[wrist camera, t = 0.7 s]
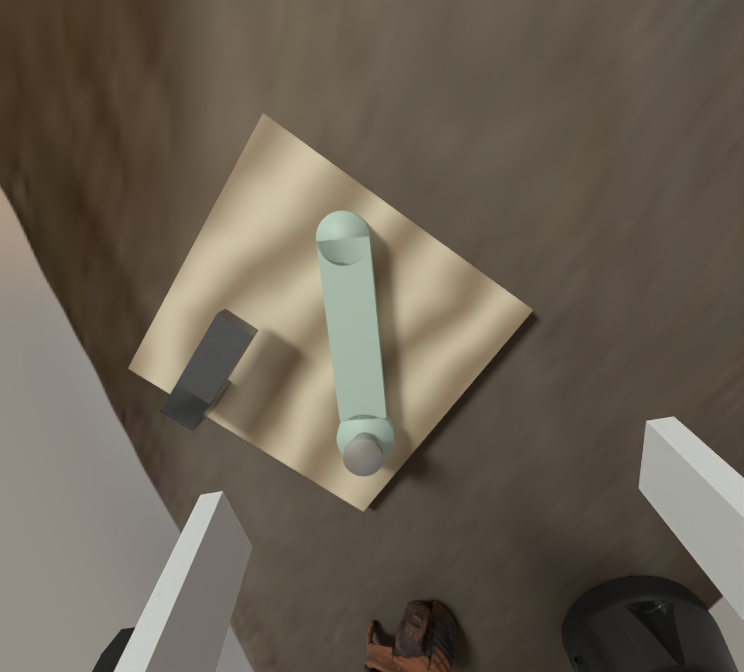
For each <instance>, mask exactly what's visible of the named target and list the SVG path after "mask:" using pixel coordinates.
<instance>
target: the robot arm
mask: <svg viewBox="0 0 744 672" xmlns="http://www.w3.org/2000/svg"><path fill="white" fill-rule="evenodd" d="M639 489H640V491H641V492H642V493H643V494H644V496H645V497H646V498H647V499H648V501H649V502H650V503H651V505H652V506H653V507H654V508H655V510H656V511H657V512H658V513H659V515H660V516H661V517H662V518H663V520H664V521H665V522H666V524H667V525H668V526H669V527H670V529H671V530H672V531H673V532H674V534H675V535H676V536H677V537H678V539H679V540H680V541H681V543H682V544H683V545H684V546H685V548H686V549H687V550H688V551H689V553H690V554H691V555H692V557H693V558H694V559H695V560H696V562H697V563H698V564H699V565H700V567H701V568H702V569H703V570H704V572H705V573H706V574H707V576H708V577H709V578H710V579H711V581H712V582H713V583H714V584H715V586H716V587H717V588H718V589H719V591H720V592H721V593H722V595H723V596H724V597H725V598H726V600H727V601H728V602H729V603H730V605H731V606H732V607H733V609H734V610H735V611H736V612H737V614H738V615H739V616H740V617H741V619H742V620H743V621H744V478H743V477H742V476H741V475H739V474H738V473H737V472H736V471H735V470H734V469H733V468H731V467H730V466H729V465H728V464H727V463H726V462H725V461H724V460H722V459H721V458H720V457H719V456H718V455H717V454H716V453H715V452H713V451H712V450H711V449H710V448H709V447H708V446H707V445H705V444H704V443H703V442H702V441H701V440H700V439H699V438H698V437H696V436H695V435H694V434H693V433H692V432H691V431H690V430H689V429H687V428H686V427H685V426H684V425H683V424H682V423H681V422H679V421H678V420H677V419H676V418H675V417H668V418H662V419H656V420H650V421H646V429H645V438H644V446H643V455H642V464H641V472H640V481H639ZM251 549H252V545H251V543H250V541H249V540H248V538H247V536H246V534H245V532H244V530H243V528H242V526H241V525H240V523H239V521H238V519H237V517H236V515H235V513H234V511H233V510H232V508H231V506H230V504H229V502H228V500H227V498H226V496H225V494H224V493H223V491H222V492H216V493H210V494H203V495H200V497H199V499H198V501H197V503H196V505H195V507H194V509H193V511H192V513H191V515H190V517H189V520H188V522H187V524H186V526H185V528H184V530H183V532H182V534H181V536H180V538H179V540H178V542H177V544H176V546H175V548H174V550H173V552H172V554H171V556H170V558H169V560H168V562H167V564H166V567H165V569H164V571H163V573H162V575H161V577H160V579H159V581H158V583H157V585H156V587H155V589H154V591H153V593H152V595H151V597H150V599H149V601H148V603H147V605H146V607H145V610H144V611H143V613H142V615H141V617H140V619H139V621H138V623H137V626H136V627H135V628H127V629H121V631H120V632H119V633H118V635H117V636H116V637H115V638H114V639H113V641H112V642H111V643H110V644H109V645H108V647H107V648H106V649H105V650H104V652H103V653H102V654H101V656H100V658H99V660H98V662H97V664H96V665H95V667H94V669H93V671H92V672H215V670H216V667H217V663H218V660H219V657H220V653H221V650H222V647H223V643H224V640H225V636H226V633H227V630H228V626H229V623H230V620H231V616H232V613H233V610H234V606H235V603H236V599H237V596H238V593H239V589H240V586H241V583H242V579H243V576H244V573H245V569H246V566H247V562H248V559H249V556H250V552H251ZM562 641H563V645H564V647H565V650H566V652H567V655H568V657H569V660H570V662H571V664H572V667H573V669H574V670H575V672H738V670H737V668H736V666H735V663H734V661H733V659H732V657H731V654H730V652H729V649H728V647H727V645H726V643H725V640H724V638H723V636H722V633H721V631H720V629H719V627H718V625H717V623H716V621H715V620H714V618H713V617H712V615H711V614H710V613H709V612H708V611H707V609H706V608H705V607H704V606H703V604H702V603H701V602H700V601H699V599H698V598H697V597H696V596H695V595H694V594H693V593H692V592H691V591H690V590H688V589H687V588H685V587H684V586H682V585H680V584H678V583H676V582H673V581H670V580H667V579H663V578H658V577H650V576H634V577H626V578H621V579H616V580H613V581H610V582H607V583H604V584H602V585H599V586H597V587H595V588H594V589H592V590H590V591H589V592H587V593H586V594H584V595H583V596H582V597H581V598H579V599H578V600H577V601H576V602H575V603H574V605H573V606H572V607H571V608H570V610H569V611H568V613H567V615H566V617H565V619H564V622H563V626H562Z"/></svg>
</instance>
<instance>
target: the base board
mask: <svg viewBox="0 0 744 672" xmlns="http://www.w3.org/2000/svg"><path fill="white" fill-rule="evenodd" d="M336 211H348V212H352V213H355V214H357V215H359V216H360V217H361V218H362V219H363V220H364V221H365V222H366V223H367V225H368V227H369V230H370V234H371V244H372V255H373V266H374V276H375V287H376V298H377V308H378V319H379V330H380V340H381V351H382V362H383V373H384V383H385V394H386V405H387V413H388V414H389V415H390V417H391V418H392V420H393V423H394V446H393V449H392V451H391V453H390V455H389V456H388V457H387V458H386V459H384V460H383V451H382V448H381V447H380V445H379V444H378V443H377V441H376V439H375V437H374V436H373V435H372V434H370V433H366V432H363V433H359V434H358V435H356V436H355V438H354V439H353V440H352V441H350V442H349V443H348V444H347V445H346V447H345V450H344V454H342V453H341V452H340V450H339V448H338V445H337V433H338V429H339V425H340V419H339V411H338V404H337V396H336V389H335V381H334V373H333V366H332V358H331V351H330V343H329V335H328V328H327V320H326V313H325V305H324V297H323V290H322V282H321V275H320V267H319V260H318V252H317V244H316V232H317V228H318V226H319V224H320V222H321V221H322V220H323V219H324V218H325V217H326V216H327V215H329V214H330V213H332V212H336ZM224 309H227V310H229V311H230V312H232V313H233V314H235V315H236V316H238V317H239V318H241V319H242V320H244V321H246V322H247V323H249V324H250V325H252V326H253V327H255V328H256V329H258V332H257V334H256V335H255V337H254V338H253V340H252V342H251V343H250V345H249V346H248V348H247V350H246V351H245V353H244V354H243V356H242V358H241V359H240V361H239V362H238V364H237V366H236V367H235V369H234V370H233V372H232V374H231V375H230V377H229V379H228V380H230V381H231V382H232V383H231V384H230V386H229V387H228V389H227V391H226V392H225V394H224V395H223V397H222V399H221V400H220V402H219V403H218V405H217V406H216V407H215V408H214V409H213V411H212V412H211V413H210V414H209V415H208V416H207V417H209V418H210V419H212V420H214V421H215V422H217V423H218V424H220V425H222V426H223V427H225V428H227V429H228V430H230V431H232V432H233V433H235V434H237V435H238V436H240V437H241V438H243V439H245V440H246V441H248V442H250V443H251V444H253V445H255V446H256V447H258V448H259V449H261V450H263V451H264V452H266V453H268V454H269V455H271V456H273V457H274V458H276V459H278V460H279V461H281V462H282V463H284V464H286V465H287V466H289V467H291V468H292V469H294V470H296V471H297V472H299V473H301V474H302V475H304V476H305V477H307V478H309V479H310V480H312V481H314V482H315V483H317V484H319V485H320V486H322V487H323V488H325V489H327V490H328V491H330V492H332V493H333V494H335V495H337V496H338V497H340V498H342V499H343V500H345V501H346V502H348V503H350V504H351V505H353V506H355V507H356V508H358V509H360V510H361V511H364V510H365V509H366V508H367V507H368V505H369V504H370V503H371V502H372V501H373V499H374V498H375V497H376V496H377V495H378V494H379V492H380V491H381V490H382V489H383V488H384V486H385V485H386V484H387V483H388V482H389V481H390V479H391V478H392V477H393V476H394V475H395V473H396V472H397V471H398V470H399V469H400V467H401V466H402V465H403V464H404V463H405V462H406V460H407V459H408V458H409V457H410V456H411V454H412V453H413V452H414V451H415V450H416V448H417V447H418V446H419V445H420V444H421V443H422V441H423V440H424V439H425V438H426V437H427V435H428V434H429V433H430V432H431V431H432V430H433V428H434V427H435V426H436V425H437V424H438V422H439V421H440V420H441V419H442V418H443V416H444V415H445V414H446V413H447V412H448V411H449V409H450V408H451V407H452V406H453V405H454V403H455V402H456V401H457V400H458V399H459V397H460V396H461V395H462V394H463V393H464V392H465V390H466V389H467V388H468V387H469V386H470V384H471V383H472V382H473V381H474V380H475V379H476V377H477V376H478V375H479V374H480V373H481V371H482V370H483V369H484V368H485V367H486V365H487V364H488V363H489V362H490V361H491V360H492V358H493V357H494V356H495V355H496V354H497V352H498V351H499V350H500V349H501V348H502V346H503V345H504V344H505V343H506V342H507V341H508V339H509V338H510V337H511V336H512V335H513V333H514V332H515V331H516V330H517V329H518V328H519V326H520V325H521V324H522V323H523V322H524V320H525V319H526V318H527V317H528V316H529V314H530V313H531V312H532V311H533V310H532V309H531V308H530V307H528V306H527V305H526V304H524V303H523V302H521V301H520V300H519V299H517V298H516V297H515V296H513V295H512V294H510V293H509V292H508V291H506V290H505V289H504V288H502V287H501V286H499V285H498V284H497V283H495V282H494V281H493V280H491V279H490V278H488V277H487V276H486V275H484V274H483V273H482V272H480V271H479V270H478V269H476V268H475V267H473V266H472V265H471V264H469V263H468V262H467V261H465V260H464V259H462V258H461V257H460V256H458V255H457V254H456V253H454V252H453V251H451V250H450V249H449V248H447V247H446V246H445V245H443V244H442V243H440V242H439V241H438V240H436V239H435V238H434V237H432V236H431V235H430V234H428V233H427V232H425V231H424V230H423V229H421V228H420V227H419V226H417V225H416V224H414V223H413V222H412V221H410V220H409V219H408V218H406V217H405V216H403V215H402V214H401V213H399V212H398V211H397V210H395V209H394V208H392V207H391V206H390V205H388V204H387V203H386V202H384V201H383V200H381V199H380V198H379V197H377V196H376V195H375V194H373V193H372V192H371V191H369V190H368V189H366V188H365V187H364V186H362V185H361V184H360V183H358V182H357V181H355V180H354V179H353V178H351V177H350V176H349V175H347V174H346V173H344V172H343V171H342V170H340V169H339V168H338V167H336V166H335V165H333V164H332V163H331V162H329V161H328V160H327V159H325V158H324V157H322V156H321V155H320V154H318V153H317V152H316V151H314V150H313V149H312V148H310V147H309V146H307V145H306V144H305V143H303V142H302V141H301V140H299V139H298V138H296V137H295V136H294V135H292V134H291V133H290V132H288V131H287V130H285V129H284V128H283V127H281V126H280V125H279V124H277V123H276V122H274V121H273V120H272V119H270V118H269V117H268V116H266V115H265V114H264V113H263V114H262V116H261V118H260V120H259V122H258V124H257V126H256V128H255V129H254V131H253V133H252V135H251V137H250V139H249V141H248V143H247V145H246V146H245V148H244V150H243V152H242V154H241V156H240V158H239V160H238V162H237V164H236V165H235V167H234V169H233V171H232V173H231V175H230V177H229V179H228V181H227V182H226V184H225V186H224V188H223V190H222V192H221V194H220V196H219V198H218V199H217V201H216V203H215V205H214V207H213V209H212V211H211V213H210V215H209V216H208V218H207V220H206V222H205V224H204V226H203V228H202V230H201V232H200V233H199V235H198V237H197V239H196V241H195V243H194V245H193V247H192V249H191V250H190V252H189V254H188V256H187V258H186V260H185V262H184V264H183V266H182V268H181V269H180V271H179V273H178V275H177V277H176V279H175V281H174V283H173V285H172V286H171V288H170V290H169V292H168V294H167V296H166V298H165V300H164V302H163V303H162V305H161V307H160V309H159V311H158V313H157V315H156V317H155V319H154V320H153V322H152V324H151V326H150V328H149V330H148V332H147V334H146V336H145V337H144V339H143V341H142V343H141V345H140V347H139V349H138V351H137V353H136V354H135V356H134V358H133V360H132V362H131V364H130V366H129V368H128V369H130V370H132V371H133V372H135V373H136V374H138V375H140V376H141V377H143V378H145V379H146V380H148V381H150V382H151V383H153V384H154V385H156V386H158V387H159V388H161V389H163V390H164V391H166V392H168V393H169V394H171V392H172V390H173V388H174V387H175V385H176V383H177V381H178V380H179V378H180V376H181V375H182V373H183V371H184V369H185V368H186V366H187V364H188V362H189V361H190V359H191V357H192V356H193V354H194V352H195V350H196V349H197V347H198V345H199V343H200V342H201V340H202V338H203V337H204V335H205V333H206V331H207V330H208V328H209V326H210V324H211V323H212V321H213V319H214V318H215V316H216V314H217V313H218V312H220V311H222V310H224Z"/></svg>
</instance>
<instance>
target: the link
mask: <svg viewBox="0 0 744 672" xmlns="http://www.w3.org/2000/svg"><path fill="white" fill-rule="evenodd" d="M316 244H317V252H318V260H319V267H320V275H321V282H322V290H323V297H324V305H325V313H326V320H327V328H328V335H329V343H330V351H331V358H332V366H333V373H334V381H335V389H336V396H337V404H338V411H339V419H340V425H339V429H338V433H337V445H338V448H339V450H340V452H341V453H342V454H344V450H345V447H346V445H347V444H348V443H349V442H350V441H352V440H353V439H354V438H355V436H356V435H358V434H359V433H363V432H366V433H370V434H372V435H373V436H374V437H375V439H376V441H377V443H378V444H379V445H380V447H381V448H382V451H383V460H384V459H386V458H387V457H388V456H389V455H390V453H391V451H392V449H393V446H394V423H393V420H392V418H391V417H390V415H389V414H388V413H387V405H386V394H385V383H384V373H383V362H382V351H381V340H380V330H379V319H378V308H377V298H376V287H375V276H374V266H373V255H372V244H371V234H370V230H369V227H368V225H367V223H366V222H365V221H364V220H363V219H362V218H361V217H360V216H359V215H357V214H355V213H352V212H348V211H336V212H332V213H330V214H329V215H327V216H326V217H325V218H324V219H323V220H322V221H321V222H320V224H319V226H318V228H317V232H316Z"/></svg>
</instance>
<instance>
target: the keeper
mask: <svg viewBox="0 0 744 672" xmlns="http://www.w3.org/2000/svg"><path fill="white" fill-rule="evenodd" d="M257 332H258V329H256V328H255V327H253V326H252V325H250V324H249V323H247V322H246V321H244V320H242V319H241V318H239V317H238V316H236V315H235V314H233V313H232V312H230V311H229V310H227V309H224V310H222V311H220V312H218V313H217V314H216V316H215V318H214V319H213V321H212V323H211V324H210V326H209V328H208V330H207V331H206V333H205V335H204V337H203V338H202V340H201V342H200V343H199V345H198V347H197V349H196V350H195V352H194V354H193V356H192V357H191V359H190V361H189V362H188V364H187V366H186V368H185V369H184V371H183V373H182V375H181V376H180V378H179V380H178V381H177V383H176V385H175V387H174V388H173V390H172V392H171V394H170V395H169V397H168V399H167V400H166V402H165V404H164V406H163V407H162V409H161V411H160V412H162V413H163V414H165V415H167V416H168V417H170V418H172V419H173V420H175V421H177V422H178V423H180V424H182V425H183V426H185V427H186V428H188V429H190V430H191V431H193V430H194V429H195V428H196V427H197V426H198V425H199V424H200V423H201V422H202V421H203V420H204V419H205V418H206V417H207V416H208V415H209V414H210V413H211V412H212V411H213V409H214V408H215V407H216V406H217V405H218V403H219V402H220V400H221V399H222V397H223V395H224V394H225V392H226V391H227V389H228V387H229V386H230V384H231V383H232V382H231V381H230V380H228V379H229V377H230V375H231V374H232V372H233V370H234V369H235V367H236V366H237V364H238V362H239V361H240V359H241V358H242V356H243V354H244V353H245V351H246V350H247V348H248V346H249V345H250V343H251V342H252V340H253V338H254V337H255V335H256V334H257Z"/></svg>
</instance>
